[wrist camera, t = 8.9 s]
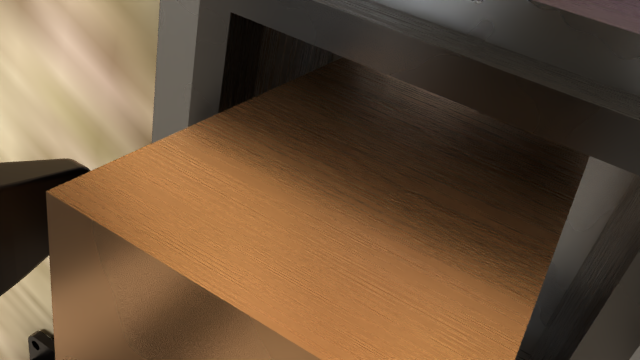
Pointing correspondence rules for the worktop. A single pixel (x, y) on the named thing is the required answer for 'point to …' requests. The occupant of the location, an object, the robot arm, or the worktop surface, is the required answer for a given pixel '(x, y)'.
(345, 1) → the drawer cabinet
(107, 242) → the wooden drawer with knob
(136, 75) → the worktop surface
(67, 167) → the robot arm
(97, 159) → the worktop surface
